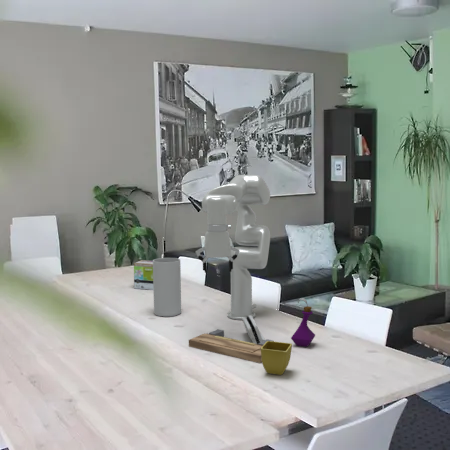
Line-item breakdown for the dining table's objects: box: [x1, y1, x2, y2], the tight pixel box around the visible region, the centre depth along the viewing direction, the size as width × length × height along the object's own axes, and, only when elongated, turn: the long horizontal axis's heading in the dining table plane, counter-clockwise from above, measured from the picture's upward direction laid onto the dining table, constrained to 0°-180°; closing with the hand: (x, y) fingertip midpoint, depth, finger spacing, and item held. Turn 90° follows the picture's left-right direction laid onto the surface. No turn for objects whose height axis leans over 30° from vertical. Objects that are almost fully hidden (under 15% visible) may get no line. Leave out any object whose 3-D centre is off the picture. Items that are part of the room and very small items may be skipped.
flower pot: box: [261, 340, 293, 376], centre depth 190 cm, size 9×9×9 cm
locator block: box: [208, 329, 225, 337], centre depth 226 cm, size 6×3×3 cm, turn 144°
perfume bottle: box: [290, 297, 316, 348], centre depth 217 cm, size 8×8×18 cm
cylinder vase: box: [152, 257, 182, 318], centre depth 263 cm, size 12×12×25 cm
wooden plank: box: [188, 333, 262, 364], centre depth 212 cm, size 10×32×3 cm, turn 54°
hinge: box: [242, 315, 266, 345], centre depth 226 cm, size 17×5×10 cm, turn 7°
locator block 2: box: [257, 339, 275, 346], centre depth 212 cm, size 6×3×3 cm, turn 144°
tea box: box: [133, 259, 154, 291], centre depth 317 cm, size 15×10×15 cm, turn 73°
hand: (217, 271), depth 225 cm, fingers open, 9 cm apart
